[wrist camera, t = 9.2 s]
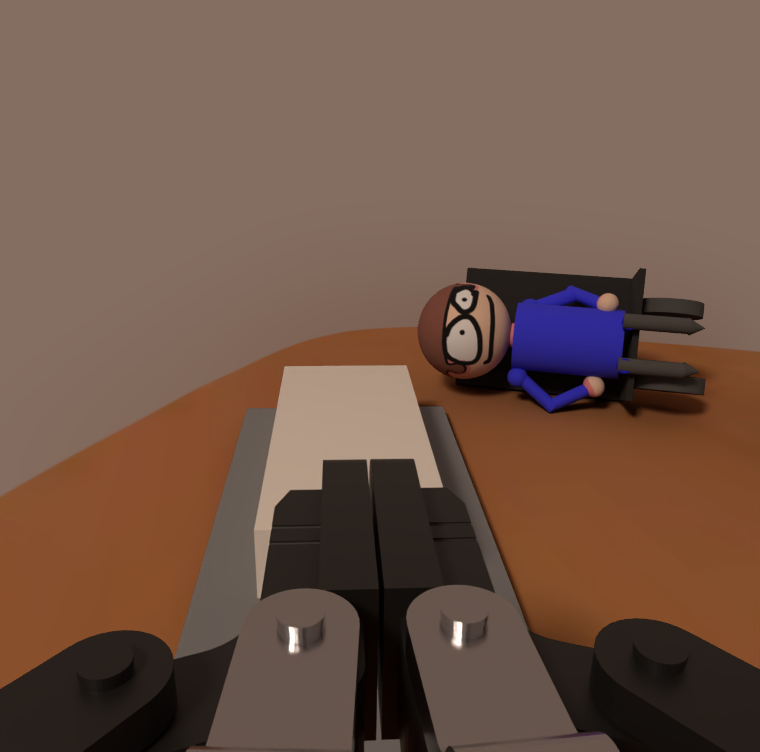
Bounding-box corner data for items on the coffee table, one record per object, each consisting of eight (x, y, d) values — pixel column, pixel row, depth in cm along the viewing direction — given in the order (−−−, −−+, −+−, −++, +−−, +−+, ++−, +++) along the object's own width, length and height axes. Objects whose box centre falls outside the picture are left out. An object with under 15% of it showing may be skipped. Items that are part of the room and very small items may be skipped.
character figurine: (704, 447, 35) (407, 412, 39) (691, 387, 42) (436, 362, 46) (733, 293, 32) (407, 272, 36) (714, 254, 39) (438, 239, 43)
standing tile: (450, 593, 23) (405, 410, 37) (454, 526, 22) (406, 365, 36) (257, 598, 22) (286, 411, 36) (254, 530, 21) (284, 366, 35)
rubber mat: (442, 417, 37) (442, 406, 37) (578, 785, 17) (581, 765, 17) (247, 419, 37) (247, 408, 37) (140, 805, 16) (138, 785, 16)
